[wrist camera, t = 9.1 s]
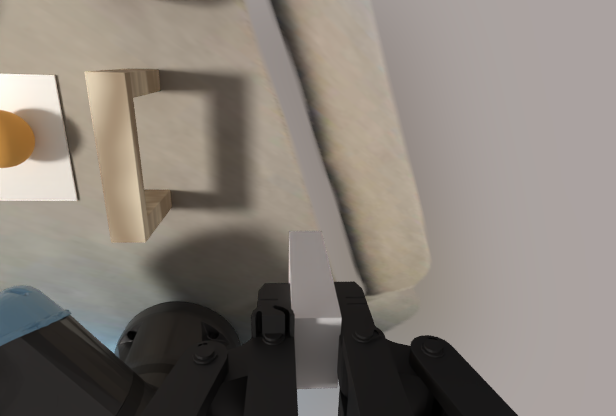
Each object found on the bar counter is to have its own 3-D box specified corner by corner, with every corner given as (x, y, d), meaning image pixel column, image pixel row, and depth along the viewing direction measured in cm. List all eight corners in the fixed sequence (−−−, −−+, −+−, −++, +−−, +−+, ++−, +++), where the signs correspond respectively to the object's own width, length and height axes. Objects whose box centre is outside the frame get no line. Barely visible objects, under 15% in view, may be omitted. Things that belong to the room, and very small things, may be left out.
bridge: (158, 69, 40) (124, 72, 31) (171, 207, 45) (145, 242, 36) (127, 68, 40) (84, 71, 31) (144, 207, 45) (111, 242, 36)
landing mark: (77, 200, 44) (76, 200, 44) (-48, 199, 43) (-50, 200, 43) (55, 74, 39) (54, 75, 39) (-86, 71, 39) (-88, 71, 38)
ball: (-33, 164, 40) (32, 156, 43) (-25, 178, 36) (46, 169, 40) (-48, 107, 38) (22, 104, 41) (-41, 116, 34) (35, 112, 38)
